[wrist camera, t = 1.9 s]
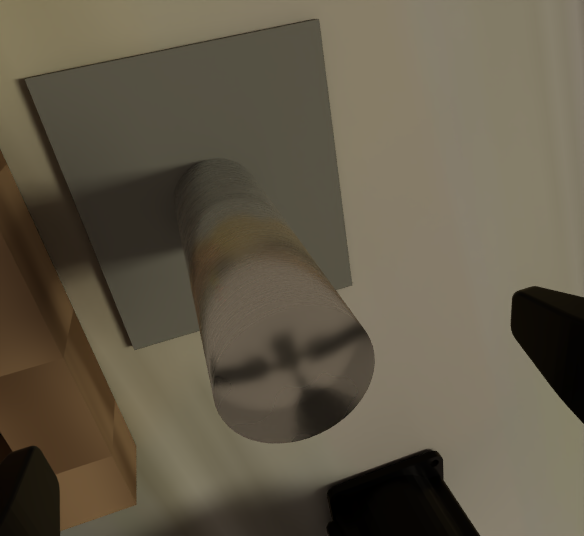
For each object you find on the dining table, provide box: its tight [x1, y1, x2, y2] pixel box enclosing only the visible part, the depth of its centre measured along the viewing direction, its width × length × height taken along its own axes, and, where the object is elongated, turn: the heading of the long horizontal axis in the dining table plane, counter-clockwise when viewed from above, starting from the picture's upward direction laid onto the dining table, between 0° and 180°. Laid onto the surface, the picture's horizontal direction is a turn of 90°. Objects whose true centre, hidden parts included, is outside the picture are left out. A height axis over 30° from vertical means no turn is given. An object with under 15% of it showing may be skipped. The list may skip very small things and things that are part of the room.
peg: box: [174, 158, 375, 443], centre depth 13 cm, size 3×3×10 cm
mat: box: [25, 19, 352, 350], centre depth 18 cm, size 9×10×1 cm
